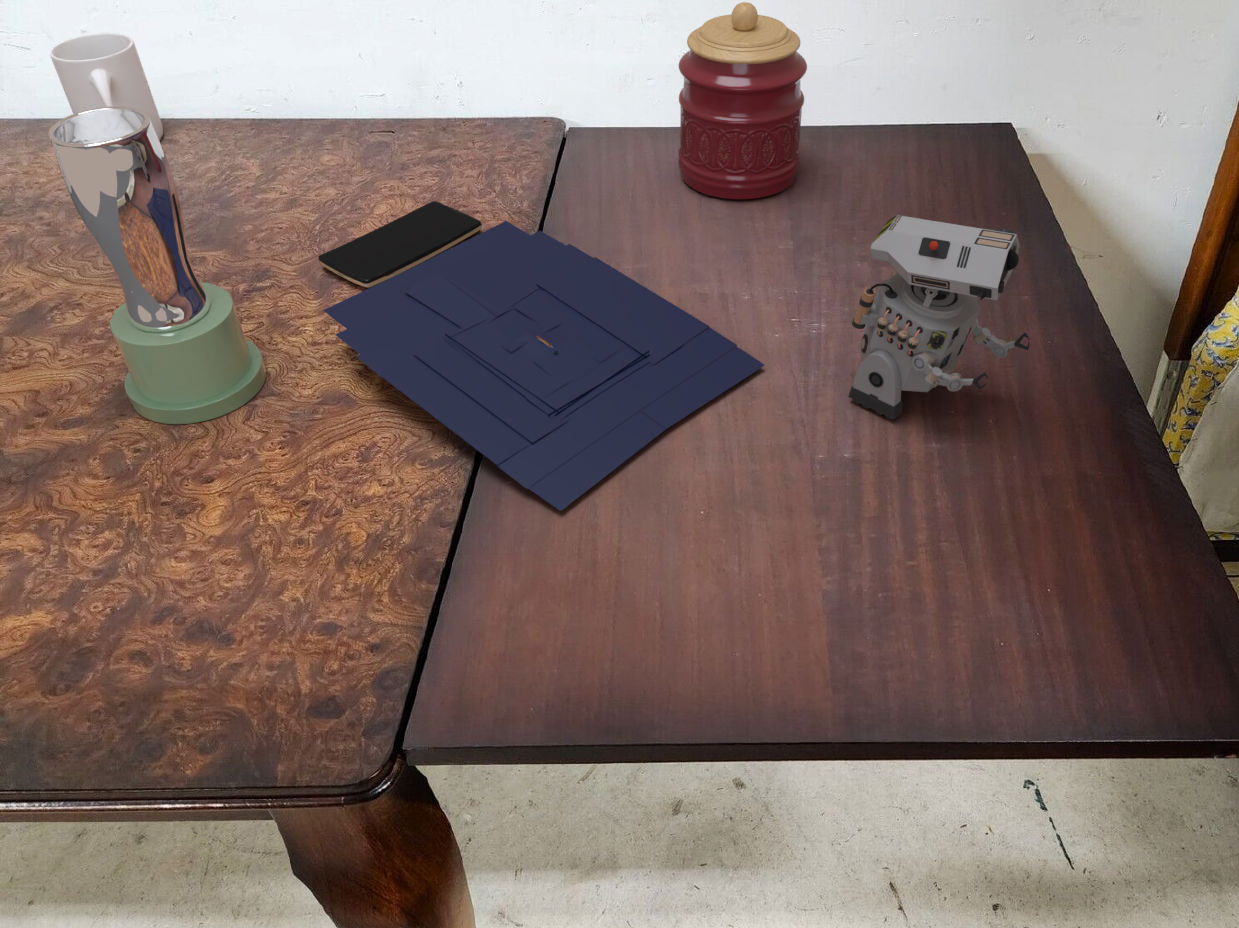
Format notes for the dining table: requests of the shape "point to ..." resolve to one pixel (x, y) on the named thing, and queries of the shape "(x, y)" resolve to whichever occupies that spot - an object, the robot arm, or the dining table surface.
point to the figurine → (928, 308)
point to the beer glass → (132, 212)
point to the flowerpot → (190, 365)
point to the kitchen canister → (741, 106)
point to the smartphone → (400, 244)
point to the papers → (539, 356)
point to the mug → (104, 74)
